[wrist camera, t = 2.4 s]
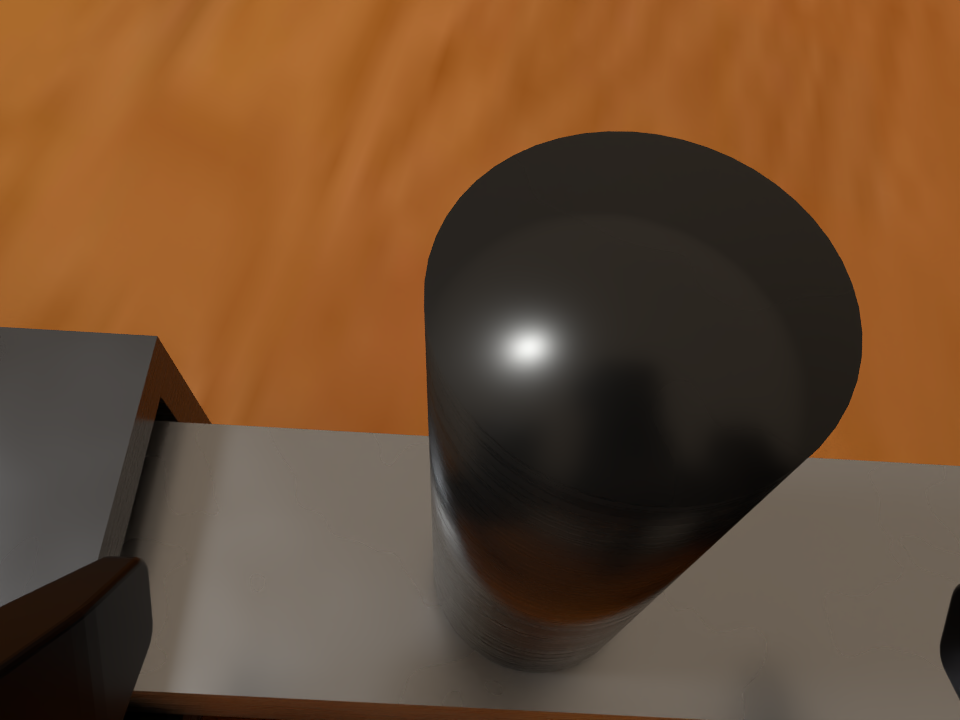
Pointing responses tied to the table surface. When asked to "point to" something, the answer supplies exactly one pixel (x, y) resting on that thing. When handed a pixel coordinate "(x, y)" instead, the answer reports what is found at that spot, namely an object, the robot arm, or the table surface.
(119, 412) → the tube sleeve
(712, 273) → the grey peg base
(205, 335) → the table surface
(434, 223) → the table surface
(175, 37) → the table surface
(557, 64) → the table surface
